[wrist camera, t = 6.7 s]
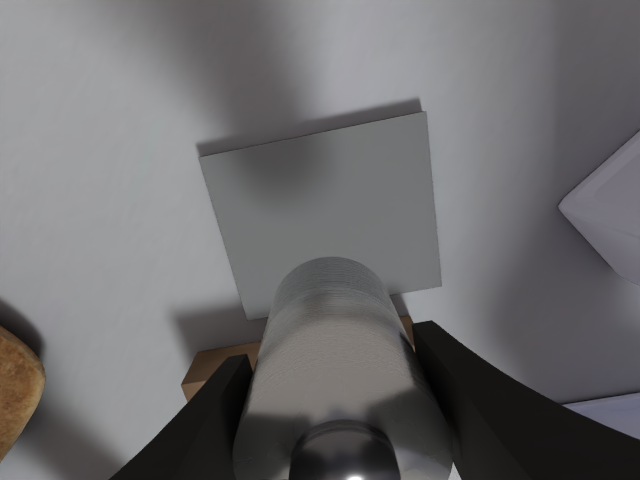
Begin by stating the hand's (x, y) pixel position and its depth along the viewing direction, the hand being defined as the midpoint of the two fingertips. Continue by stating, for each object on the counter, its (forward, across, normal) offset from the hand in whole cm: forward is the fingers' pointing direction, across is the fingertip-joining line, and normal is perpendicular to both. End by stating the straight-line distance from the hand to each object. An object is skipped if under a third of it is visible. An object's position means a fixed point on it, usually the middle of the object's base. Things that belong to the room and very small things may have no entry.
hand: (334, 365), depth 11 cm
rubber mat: (+10, 0, -2) cm, 11 cm away
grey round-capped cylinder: (+4, 0, 0) cm, 4 cm away
